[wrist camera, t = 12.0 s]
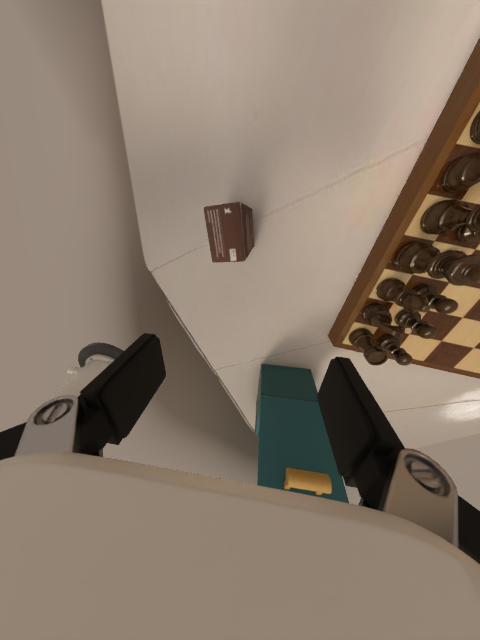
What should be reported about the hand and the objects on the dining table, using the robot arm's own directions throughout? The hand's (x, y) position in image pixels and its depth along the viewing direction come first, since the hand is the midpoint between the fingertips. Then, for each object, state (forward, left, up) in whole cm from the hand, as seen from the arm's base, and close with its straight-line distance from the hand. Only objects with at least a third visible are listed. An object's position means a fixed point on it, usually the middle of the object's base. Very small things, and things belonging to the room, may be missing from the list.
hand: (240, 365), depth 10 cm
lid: (+9, -24, -9) cm, 27 cm away
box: (-4, +6, -27) cm, 27 cm away
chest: (+9, -30, -26) cm, 41 cm away
